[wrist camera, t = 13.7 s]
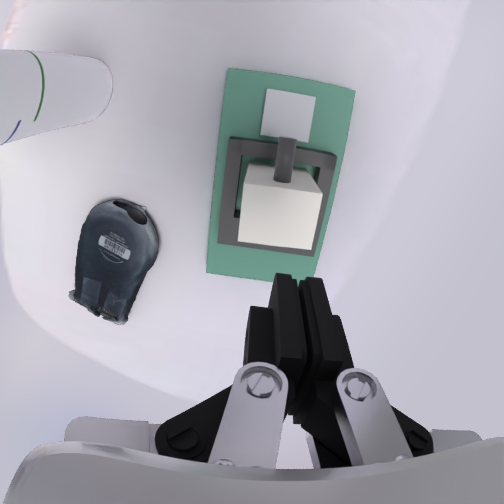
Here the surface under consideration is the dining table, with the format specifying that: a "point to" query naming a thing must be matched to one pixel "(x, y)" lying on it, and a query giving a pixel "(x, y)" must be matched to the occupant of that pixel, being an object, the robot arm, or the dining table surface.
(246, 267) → the circuit board
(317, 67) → the dining table surface
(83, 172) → the dining table surface
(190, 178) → the dining table surface
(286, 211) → the keyed plug
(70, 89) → the cylindrical container
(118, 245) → the electronic device
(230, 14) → the dining table surface
